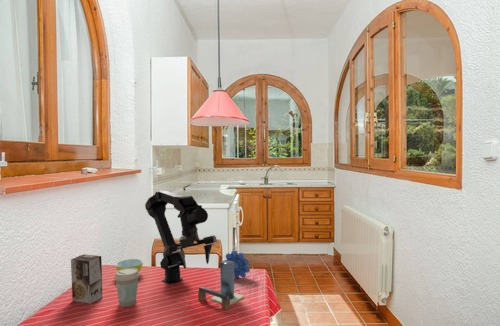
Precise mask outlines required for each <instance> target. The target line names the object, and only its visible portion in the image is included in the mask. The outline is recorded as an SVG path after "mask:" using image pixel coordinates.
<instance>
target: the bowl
mask: <svg viewBox="0 0 500 326" xmlns="http://www.w3.org/2000/svg"><path fill="white" fill-rule="evenodd" d="M143 264H144V261H143V260H142V259H141V258H140V259H138V258H131V259H130V258H128V259H123V260H121V261H120V260H119V261H118V262H117V263H116V264H115V268H116V272H117V271H119V270H121V269H125V268H136V269H137V270H138V272H139V273H140V271H141V270H142V268H143Z"/></svg>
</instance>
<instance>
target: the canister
mask: <svg viewBox="0 0 500 326" xmlns="http://www.w3.org/2000/svg"><path fill="white" fill-rule="evenodd" d="M219 266H220V267H219V269H220V274H219V276H220V277H219V279H220V283H219V284H220V287H219V288H220V291H219V292H220V293H223V294H226V295H229V298H230V299H233V298H234V293H235V277H234V262H233V261H225V260H222V261H220V263H219ZM221 299H223V298H221Z"/></svg>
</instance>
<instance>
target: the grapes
mask: <svg viewBox="0 0 500 326" xmlns="http://www.w3.org/2000/svg"><path fill="white" fill-rule="evenodd" d="M224 261H233V262H234V278H240V277H241V278H245V277H246V275H247V274H248V273H250V271H251V269H250V267H249V264H250V261H249V259H247V258H245V255H244V253H242V252H237V250H232V251H231V252H228V253H226V254H225V260H224Z"/></svg>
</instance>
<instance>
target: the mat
mask: <svg viewBox="0 0 500 326" xmlns="http://www.w3.org/2000/svg"><path fill="white" fill-rule="evenodd" d="M244 298H245V296H244V295H242V294H239V293H236V292H234V298H233V299H230V306H231V305H233V304H234V303H236V302H239V301H240V300H242V299H244ZM210 301H214V302H217V303H220V304H222V299H221V298H220V297H217V296H214V295H213V296H212V297H210Z"/></svg>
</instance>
